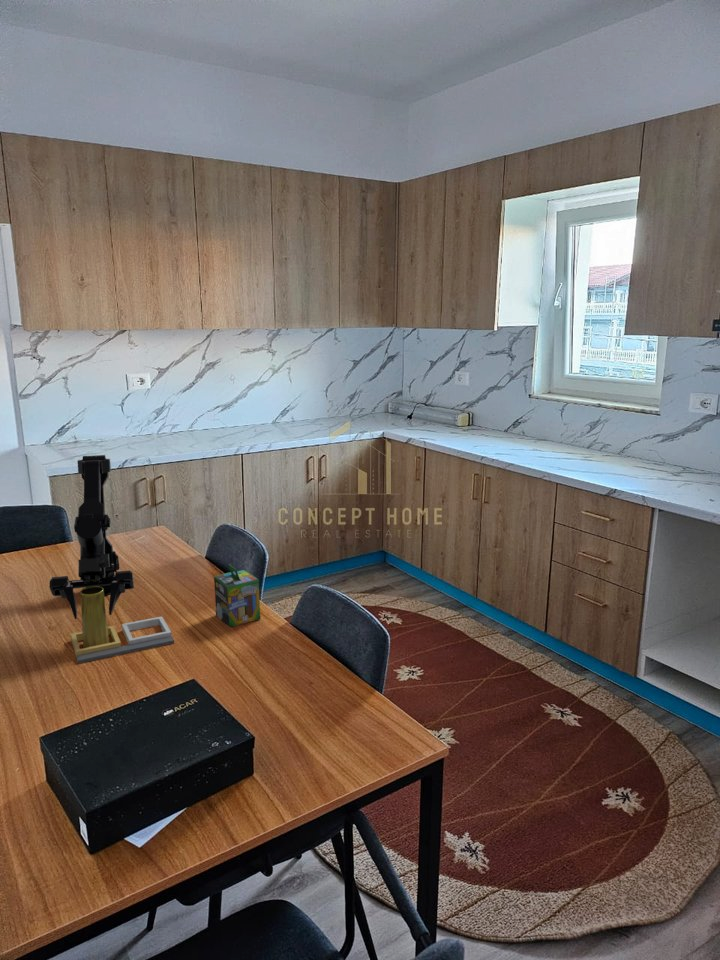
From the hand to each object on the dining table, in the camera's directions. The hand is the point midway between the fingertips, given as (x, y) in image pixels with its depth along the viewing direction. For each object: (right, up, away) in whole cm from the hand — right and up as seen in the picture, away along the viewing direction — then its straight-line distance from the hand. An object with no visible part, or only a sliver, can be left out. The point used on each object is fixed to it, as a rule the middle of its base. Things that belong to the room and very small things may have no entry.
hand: (93, 616), depth 162 cm
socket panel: (+5, -7, +5) cm, 10 cm away
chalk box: (+31, -4, +19) cm, 37 cm away
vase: (0, -8, +3) cm, 8 cm away
